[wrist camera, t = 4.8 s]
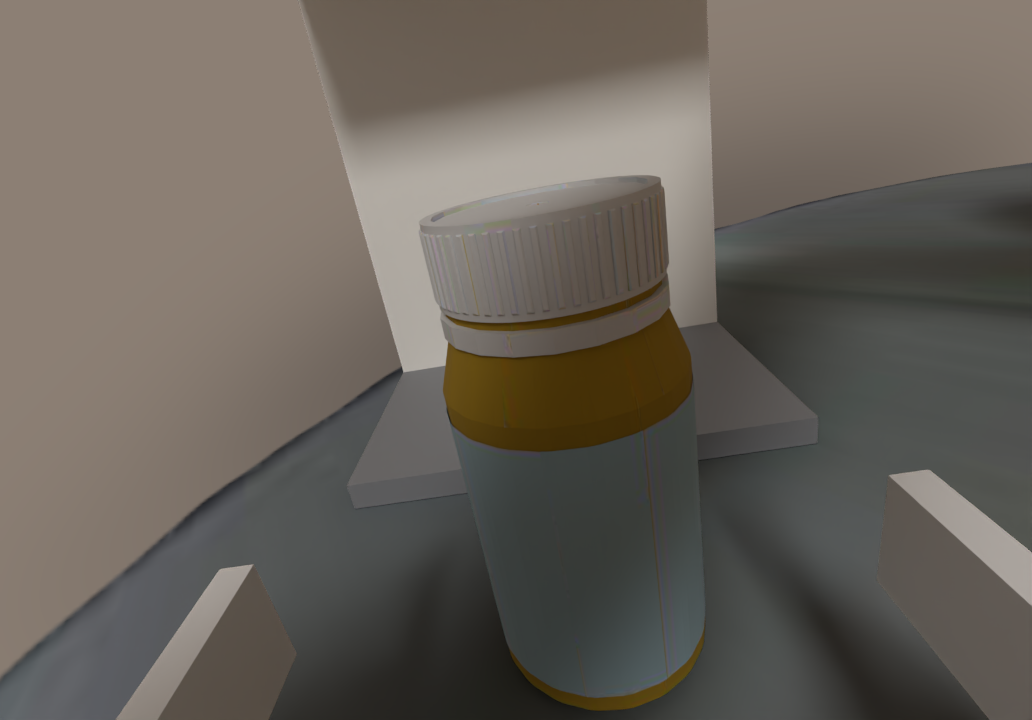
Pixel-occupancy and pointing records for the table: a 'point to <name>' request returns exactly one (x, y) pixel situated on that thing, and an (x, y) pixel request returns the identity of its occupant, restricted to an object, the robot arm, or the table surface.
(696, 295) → the shelf unit
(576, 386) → the bottle
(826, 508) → the table surface
